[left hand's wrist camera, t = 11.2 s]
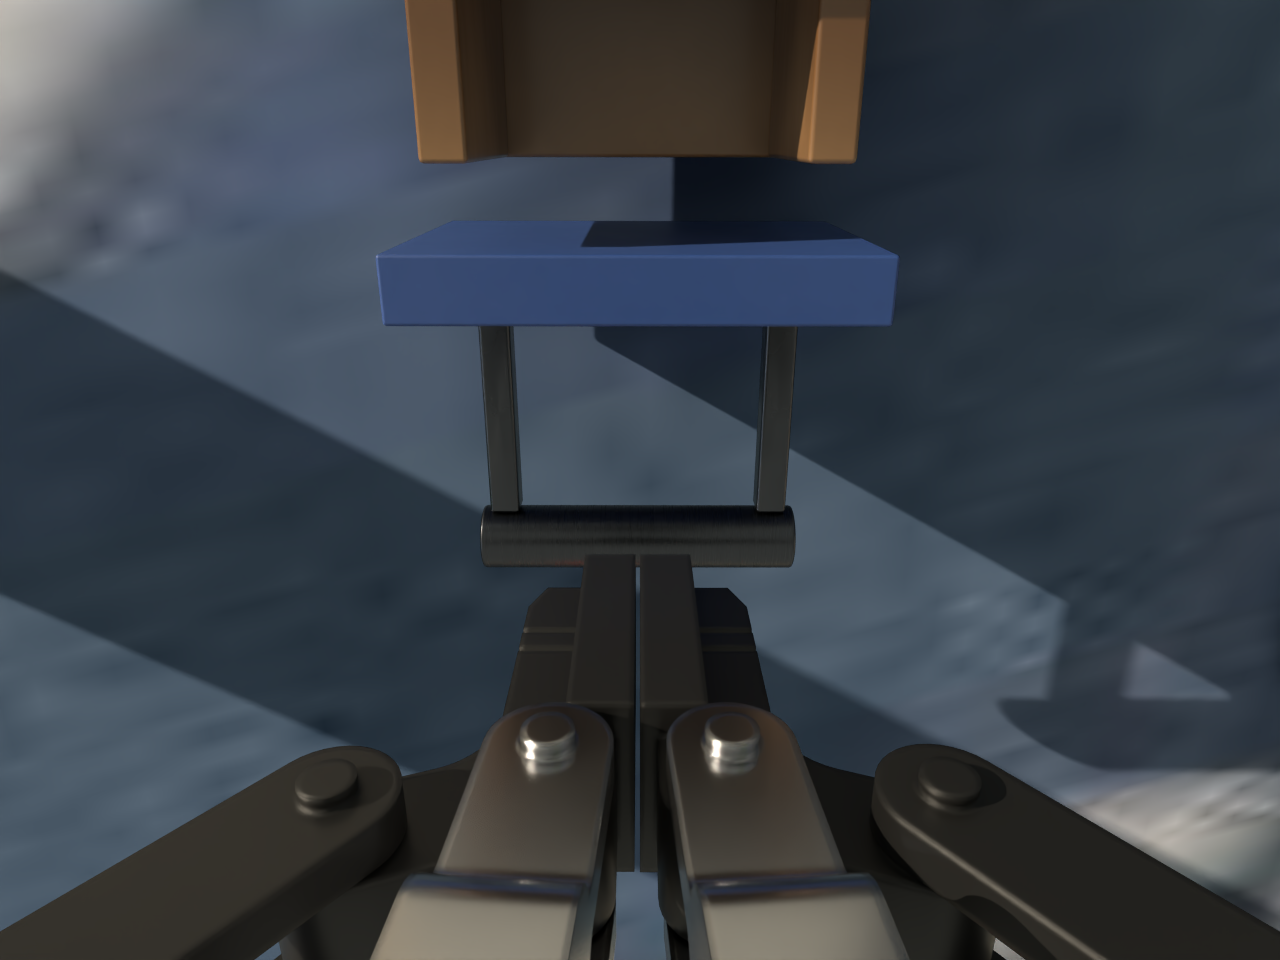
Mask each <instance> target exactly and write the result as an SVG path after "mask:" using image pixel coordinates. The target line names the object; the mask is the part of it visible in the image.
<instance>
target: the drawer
mask: <svg viewBox="0 0 1280 960" xmlns="http://www.w3.org/2000/svg"><path fill="white" fill-rule="evenodd" d="M870 7H871V0H405V9H406V20H407V32H408V43H409V54H410V65H411V77H412V88H413V99H414V110H415V122H416V133H417V144H418V155H419V160H420V162H422V163H470V162H477V161H483V160H490V159H496V158H503V157H772V158H778V159H785V160H791V161H797V162H804V163H810V164H852V163H855V161H856V159H857V152H858V141H859V130H860V119H861V108H862V97H863V85H864V74H865V63H866V52H867V41H868V30H869V19H870ZM899 264H900V257H899V256H898V255H896V254H894V253H892V252H890V251H888V250H885V249H883V248H881V247H879V246H877V245H875V244H872V243H870V242H868V241H866V240H864V239H862V238H859V237H857V236H855V235H853V234H851V233H849V232H846V231H844V230H842V229H840V228H838V227H836V226H833V225H831V224H829V223H827V222H825V221H451V222H449V223H447V224H444V225H442V226H440V227H438V228H436V229H433V230H431V231H429V232H427V233H424V234H422V235H420V236H418V237H416V238H413V239H411V240H409V241H407V242H405V243H402V244H400V245H398V246H396V247H393V248H391V249H389V250H387V251H385V252H382V253H380V254H378V255H376V266H377V275H378V284H379V293H380V302H381V311H382V320H383V324H384V325H386V326H478V328H479V342H480V357H481V371H482V386H483V400H484V415H485V429H486V443H487V458H488V472H489V487H490V501H491V505H487V506H485V508H484V510H483V514H482V519H481V529H480V547H481V556H482V561H483V564H484V566H486V567H584V560H585V555H586V554H636V567H640V554H690V556H691V564H692V567H791V566H792V564H793V560H794V555H795V543H796V534H795V520H794V514H793V511H792V508H791V507H790V506H788V505H785V500H786V486H787V472H788V458H789V443H790V429H791V415H792V401H793V386H794V372H795V358H796V344H797V330H798V327H889V326H892V324H893V317H894V308H895V299H896V290H897V281H898V273H899ZM513 326H751V327H763V334H762V352H761V370H760V388H759V406H758V424H757V443H756V461H755V479H754V497H753V501H754V504H755V505H521V504H522V501H523V497H522V478H521V460H520V441H519V423H518V404H517V386H516V367H515V349H514V330H513Z"/></svg>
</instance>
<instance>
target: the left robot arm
mask: <svg viewBox="0 0 1280 960" xmlns="http://www.w3.org/2000/svg"><path fill="white" fill-rule="evenodd" d="M635 724H636V554H586V555H585V560H584V568H583V575H582V583H581V588H547V589H546V590H545V591H544V592H543V593H542V594H541V595H540V596H539V597H538V598H537V599H536V600H535V601H534V602H533V603H532V604H531V605H530V606H529V608H528V612H527V616H526V620H525V625H524V633H522V637H521V641H520V646H519V651H518V654H517V658H516V662H515V667H514V671H513V675H512V679H511V684H510V688H509V692H508V696H507V700H506V705H505V709H504V713H503V717H502V718H500V719H499V720H498V721H497V722H495V723H494V724H493V725H492V726H491V728H490V729H489V730H488V731H487V733H486V735H485V737H484V739H483V742H482V745H481V747H480V749H479V750H478V751H476V752H475V753H473V754H472V755H470V756H468V757H466V758H464V759H462V760H460V761H458V762H455V763H453V764H450V765H447V766H444V767H440V768H437V769H433V770H428V771H424V772H420V773H415V774H411V775H407V776H402V775H401V772H400V769H399V767H398V765H397V764H396V762H395V761H394V760H393V759H392V758H391V757H389V756H388V755H387V754H385V753H383V752H381V751H379V750H375V749H372V748H368V747H362V746H340V747H333V748H327V749H323V750H319V751H316V752H312V753H310V754H307V755H305V756H302V757H300V758H298V759H296V760H294V761H292V762H290V763H288V764H287V765H285V766H283V767H282V768H280V769H278V770H276V771H275V772H273V773H271V774H270V775H268V776H266V777H264V778H263V779H261V780H259V781H258V782H256V783H254V784H252V785H251V786H249V787H247V788H246V789H244V790H242V791H240V792H239V793H237V794H235V795H234V796H232V797H230V798H228V799H227V800H225V801H223V802H222V803H220V804H218V805H216V806H215V807H213V808H211V809H210V810H208V811H206V812H204V813H203V814H201V815H199V816H198V817H196V818H194V819H192V820H191V821H189V822H187V823H186V824H184V825H182V826H180V827H179V828H177V829H175V830H174V831H172V832H170V833H168V834H167V835H165V836H163V837H162V838H160V839H158V840H156V841H155V842H153V843H151V844H150V845H148V846H146V847H144V848H143V849H141V850H139V851H138V852H136V853H134V854H132V855H131V856H129V857H127V858H126V859H124V860H122V861H120V862H119V863H117V864H115V865H114V866H112V867H110V868H108V869H107V870H105V871H103V872H102V873H100V874H98V875H96V876H95V877H93V878H91V879H90V880H88V881H86V882H84V883H83V884H81V885H79V886H78V887H76V888H74V889H72V890H71V891H69V892H67V893H66V894H64V895H62V896H60V897H59V898H57V899H55V900H54V901H52V902H50V903H48V904H47V905H45V906H43V907H42V908H40V909H38V910H36V911H35V912H33V913H31V914H30V915H28V916H26V917H24V918H23V919H21V920H19V921H18V922H16V923H14V924H12V925H11V926H9V927H7V928H6V929H4V930H2V931H0V960H255V959H256V958H257V957H259V956H260V955H261V954H263V953H264V952H265V951H267V950H268V949H269V948H271V947H272V946H273V945H275V944H276V943H277V942H279V945H280V950H281V955H280V956H278V957H277V958H276V959H274V960H613V959H614V951H615V942H616V875H617V872H634V853H635ZM640 872H658V900H659V907H660V910H661V912H662V915H663V917H664V942H665V951H666V959H667V960H1006V959H1004V958H1003V957H1002V956H1000V955H999V954H998V953H996V952H995V951H994V950H993V947H994V942H995V938H997V939H998V940H1000V941H1001V942H1003V943H1004V944H1005V945H1007V946H1008V947H1009V948H1011V949H1012V950H1013V951H1015V952H1016V953H1017V954H1019V955H1020V956H1021V957H1023V958H1024V959H1025V960H1280V931H1278V930H1276V929H1274V928H1273V927H1271V926H1269V925H1268V924H1266V923H1264V922H1262V921H1261V920H1259V919H1257V918H1256V917H1254V916H1252V915H1250V914H1249V913H1247V912H1245V911H1244V910H1242V909H1240V908H1238V907H1237V906H1235V905H1233V904H1232V903H1230V902H1228V901H1226V900H1225V899H1223V898H1221V897H1220V896H1218V895H1216V894H1214V893H1213V892H1211V891H1209V890H1208V889H1206V888H1204V887H1202V886H1201V885H1199V884H1197V883H1196V882H1194V881H1192V880H1190V879H1189V878H1187V877H1185V876H1184V875H1182V874H1180V873H1178V872H1177V871H1175V870H1173V869H1172V868H1170V867H1168V866H1166V865H1165V864H1163V863H1161V862H1160V861H1158V860H1156V859H1154V858H1153V857H1151V856H1149V855H1148V854H1146V853H1144V852H1142V851H1141V850H1139V849H1137V848H1136V847H1134V846H1132V845H1130V844H1129V843H1127V842H1125V841H1124V840H1122V839H1120V838H1118V837H1117V836H1115V835H1113V834H1112V833H1110V832H1108V831H1106V830H1105V829H1103V828H1101V827H1100V826H1098V825H1096V824H1094V823H1093V822H1091V821H1089V820H1088V819H1086V818H1084V817H1082V816H1081V815H1079V814H1077V813H1076V812H1074V811H1072V810H1070V809H1069V808H1067V807H1065V806H1064V805H1062V804H1060V803H1058V802H1057V801H1055V800H1053V799H1052V798H1050V797H1048V796H1046V795H1045V794H1043V793H1041V792H1040V791H1038V790H1036V789H1034V788H1033V787H1031V786H1029V785H1028V784H1026V783H1024V782H1022V781H1021V780H1019V779H1017V778H1015V777H1014V776H1012V775H1010V774H1009V773H1007V772H1005V771H1003V770H1002V769H1000V768H998V767H997V766H995V765H993V764H991V763H990V762H988V761H986V760H984V759H982V758H980V757H978V756H977V755H974V754H972V753H969V752H967V751H964V750H961V749H957V748H954V747H949V746H944V745H936V744H916V745H910V746H905V747H902V748H899V749H896V750H894V751H892V752H890V753H889V754H888V755H886V756H885V757H884V758H883V759H882V760H881V762H880V763H879V764H878V767H877V769H876V772H875V778H874V777H870V776H866V775H861V774H857V773H853V772H848V771H844V770H840V769H836V768H832V767H829V766H825V765H823V764H820V763H818V762H815V761H813V760H811V759H809V758H807V757H805V756H803V755H802V753H801V750H800V747H799V745H798V742H797V739H796V737H795V735H794V733H793V731H792V730H791V729H790V728H789V726H788V725H787V724H786V723H785V722H783V721H782V720H781V719H780V718H778V717H777V716H775V715H774V714H772V713H771V712H770V707H769V703H768V698H767V694H766V690H765V685H764V681H763V676H762V672H761V668H760V663H759V659H758V654H757V651H756V646H755V641H754V637H753V633H752V628H751V624H750V619H749V615H748V610H747V607H746V606H745V605H744V604H743V603H742V602H741V601H740V600H739V599H738V598H737V597H736V596H735V595H734V594H733V593H732V592H731V591H730V590H729V589H728V588H694V581H693V572H692V564H691V556H690V554H640Z"/></svg>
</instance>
